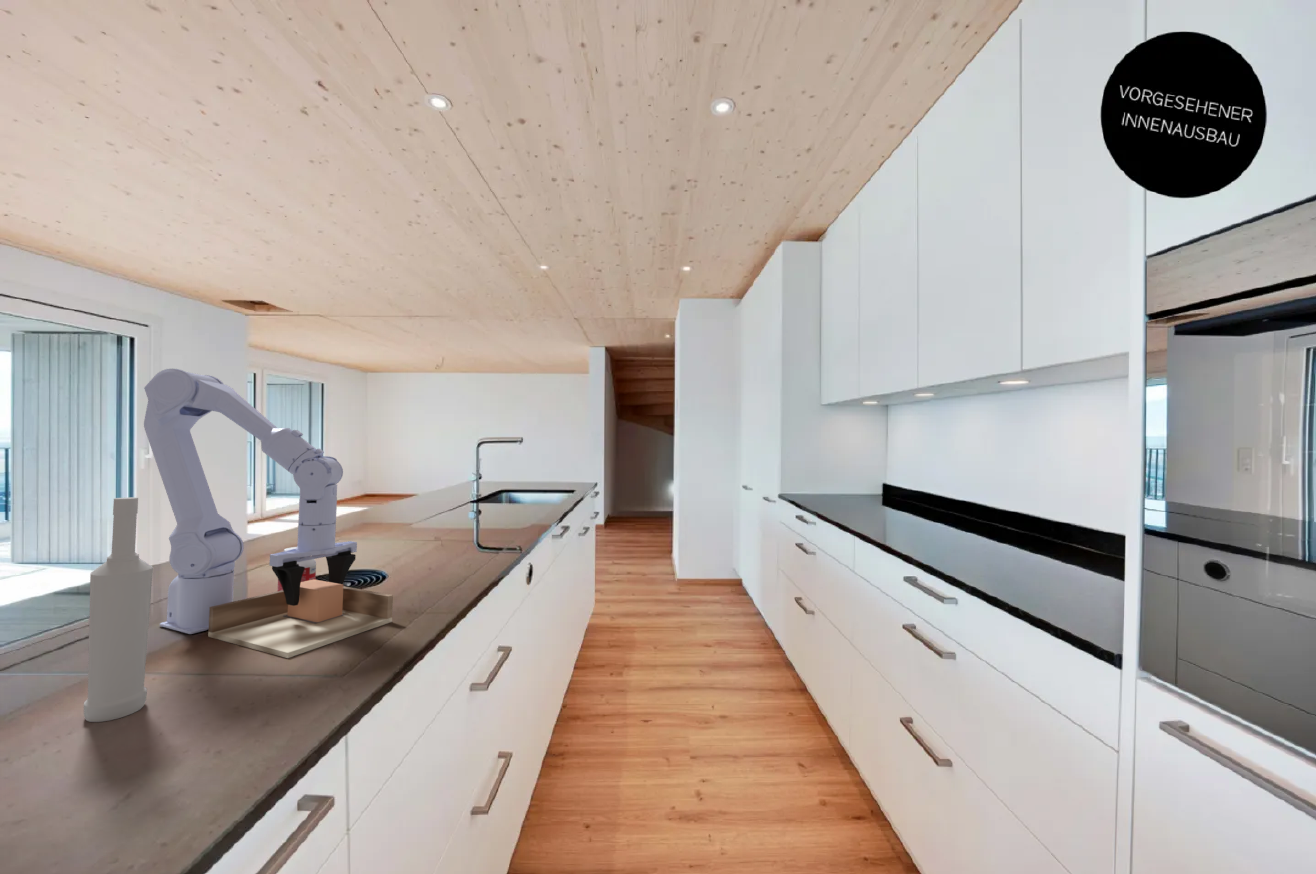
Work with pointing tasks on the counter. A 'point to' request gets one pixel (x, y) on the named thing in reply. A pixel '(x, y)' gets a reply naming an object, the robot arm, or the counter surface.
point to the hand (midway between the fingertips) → (314, 598)
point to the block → (318, 601)
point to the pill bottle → (308, 571)
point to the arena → (295, 622)
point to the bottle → (119, 623)
